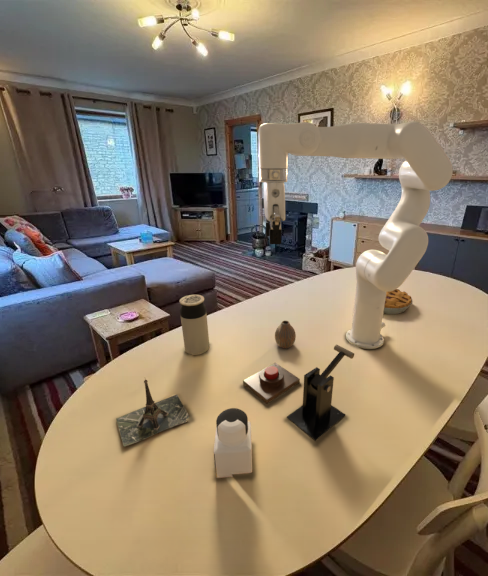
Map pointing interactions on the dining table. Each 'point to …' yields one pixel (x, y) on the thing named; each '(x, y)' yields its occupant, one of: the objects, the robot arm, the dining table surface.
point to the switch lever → (331, 365)
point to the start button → (271, 372)
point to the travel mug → (194, 324)
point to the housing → (271, 383)
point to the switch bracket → (316, 407)
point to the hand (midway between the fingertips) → (273, 239)
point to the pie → (396, 302)
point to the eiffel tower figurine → (151, 418)
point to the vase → (285, 335)
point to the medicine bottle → (232, 443)
